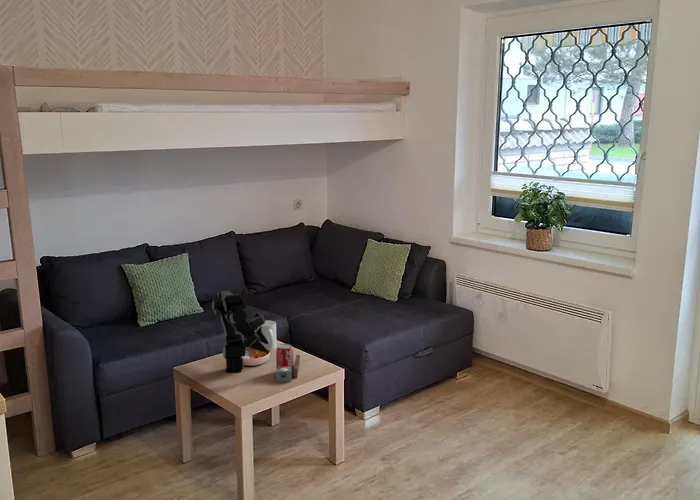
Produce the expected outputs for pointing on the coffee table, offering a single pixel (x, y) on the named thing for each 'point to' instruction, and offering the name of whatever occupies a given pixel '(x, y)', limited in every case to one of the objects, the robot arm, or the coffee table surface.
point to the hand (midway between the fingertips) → (267, 347)
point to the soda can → (284, 356)
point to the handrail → (296, 366)
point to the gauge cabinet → (283, 378)
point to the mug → (269, 334)
